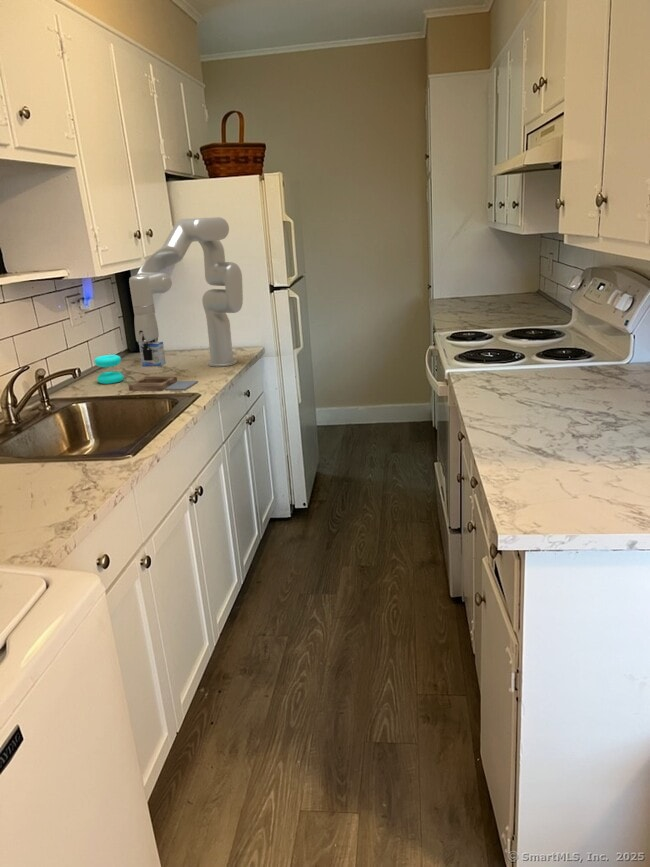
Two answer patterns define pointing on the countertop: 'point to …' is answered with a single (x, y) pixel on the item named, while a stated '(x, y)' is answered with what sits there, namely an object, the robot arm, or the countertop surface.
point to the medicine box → (154, 355)
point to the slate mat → (181, 385)
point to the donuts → (111, 375)
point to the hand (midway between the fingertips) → (151, 358)
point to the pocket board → (152, 383)
